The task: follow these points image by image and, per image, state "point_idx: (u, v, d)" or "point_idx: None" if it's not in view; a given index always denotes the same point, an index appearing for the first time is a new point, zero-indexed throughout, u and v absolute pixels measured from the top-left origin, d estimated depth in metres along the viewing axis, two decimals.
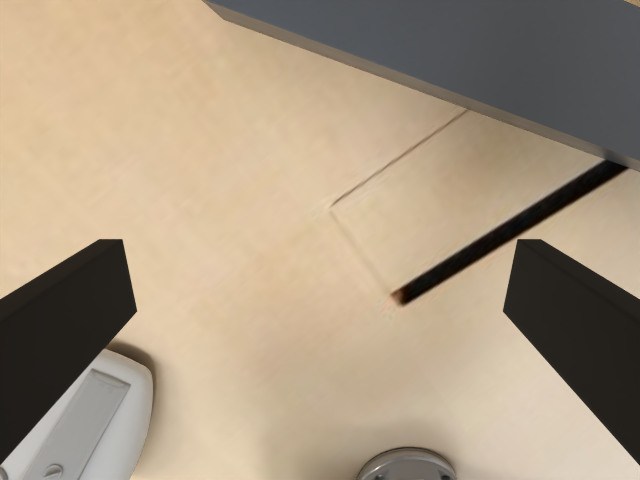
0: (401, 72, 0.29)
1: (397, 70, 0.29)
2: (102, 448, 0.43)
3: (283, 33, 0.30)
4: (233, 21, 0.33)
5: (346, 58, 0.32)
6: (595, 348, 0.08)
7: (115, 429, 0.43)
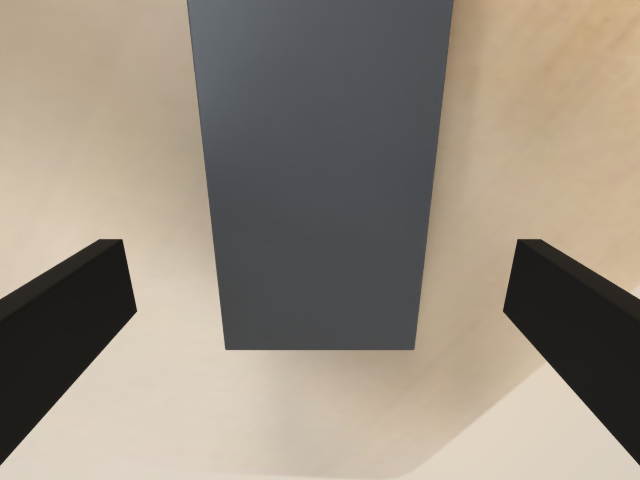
0: None
1: None
2: None
3: None
4: None
5: None
6: (595, 348, 0.08)
7: None
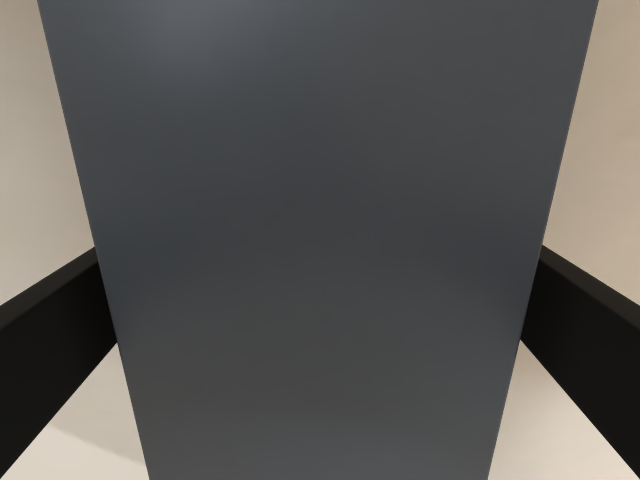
0: None
1: None
2: None
3: None
4: None
5: None
6: (580, 343, 0.09)
7: None
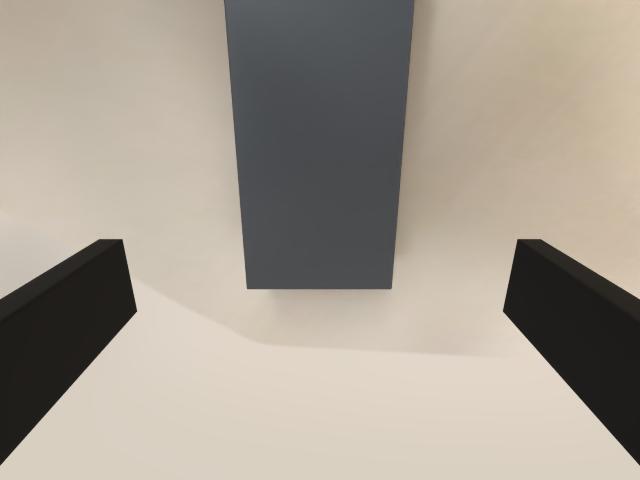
0: None
1: None
2: None
3: None
4: None
5: None
6: (595, 348, 0.08)
7: None
